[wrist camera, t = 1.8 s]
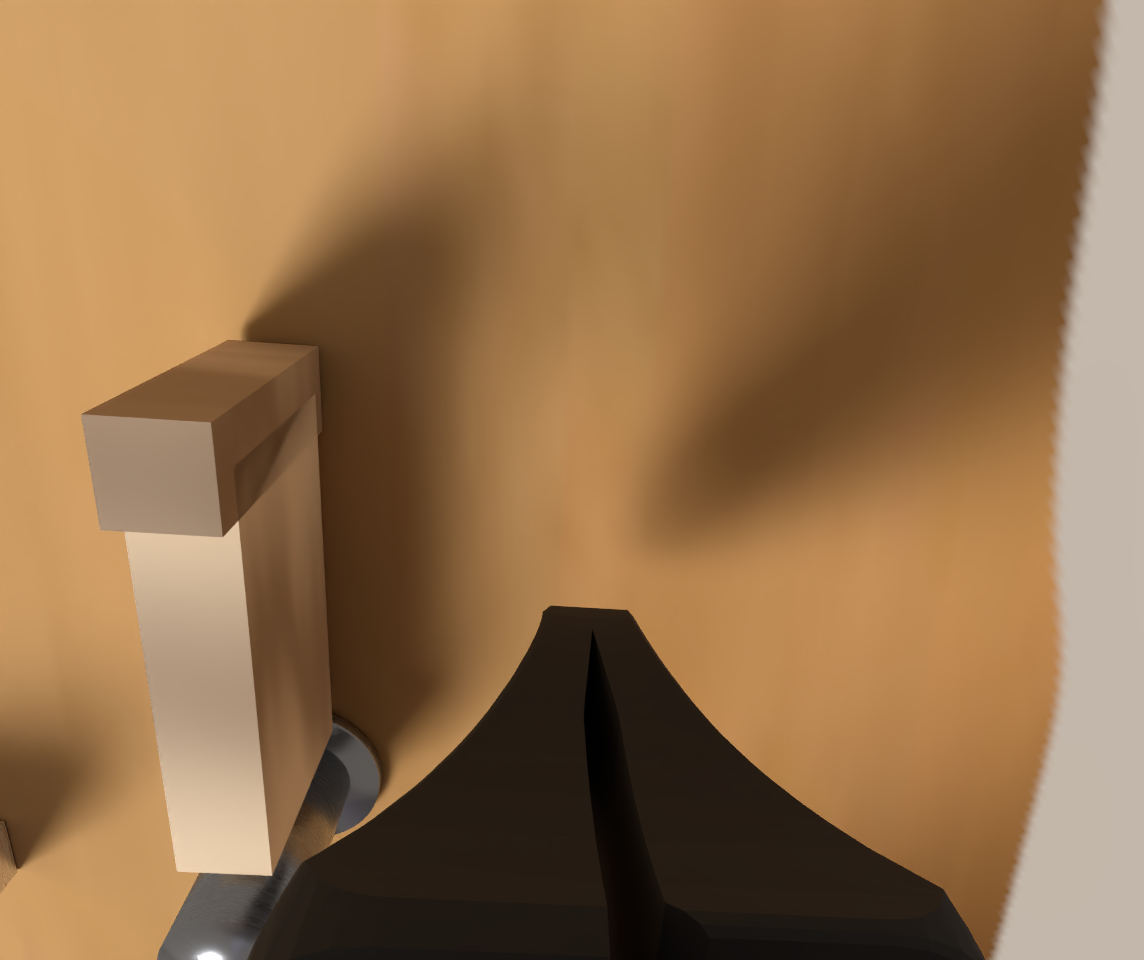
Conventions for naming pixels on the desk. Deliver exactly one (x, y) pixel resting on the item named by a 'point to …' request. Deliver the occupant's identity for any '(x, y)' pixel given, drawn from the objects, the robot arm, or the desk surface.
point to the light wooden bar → (225, 588)
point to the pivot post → (244, 902)
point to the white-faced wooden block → (5, 858)
